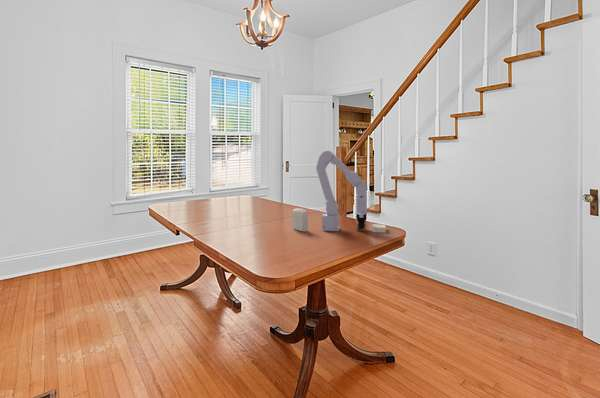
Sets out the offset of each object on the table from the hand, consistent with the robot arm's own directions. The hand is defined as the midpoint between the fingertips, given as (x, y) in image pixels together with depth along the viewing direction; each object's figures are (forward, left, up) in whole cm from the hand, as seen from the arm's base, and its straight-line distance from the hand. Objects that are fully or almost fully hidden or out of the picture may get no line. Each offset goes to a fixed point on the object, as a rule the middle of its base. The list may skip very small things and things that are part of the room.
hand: (361, 227), depth 181 cm
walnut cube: (0, 0, -1) cm, 1 cm away
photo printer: (-34, -3, -2) cm, 34 cm away
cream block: (+9, 0, -2) cm, 10 cm away
